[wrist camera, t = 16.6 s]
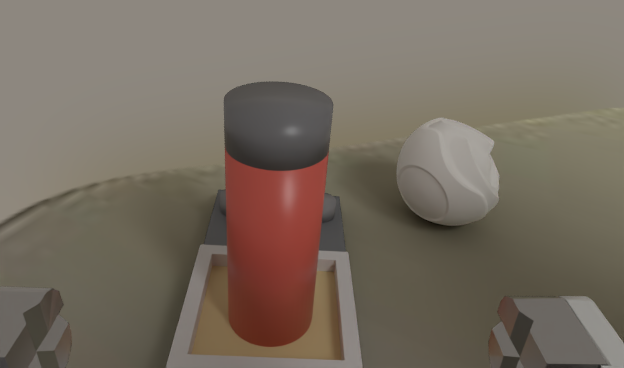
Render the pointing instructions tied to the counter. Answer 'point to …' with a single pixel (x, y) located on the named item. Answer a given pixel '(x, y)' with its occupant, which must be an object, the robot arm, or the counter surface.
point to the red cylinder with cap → (274, 206)
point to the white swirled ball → (448, 173)
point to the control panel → (257, 359)
